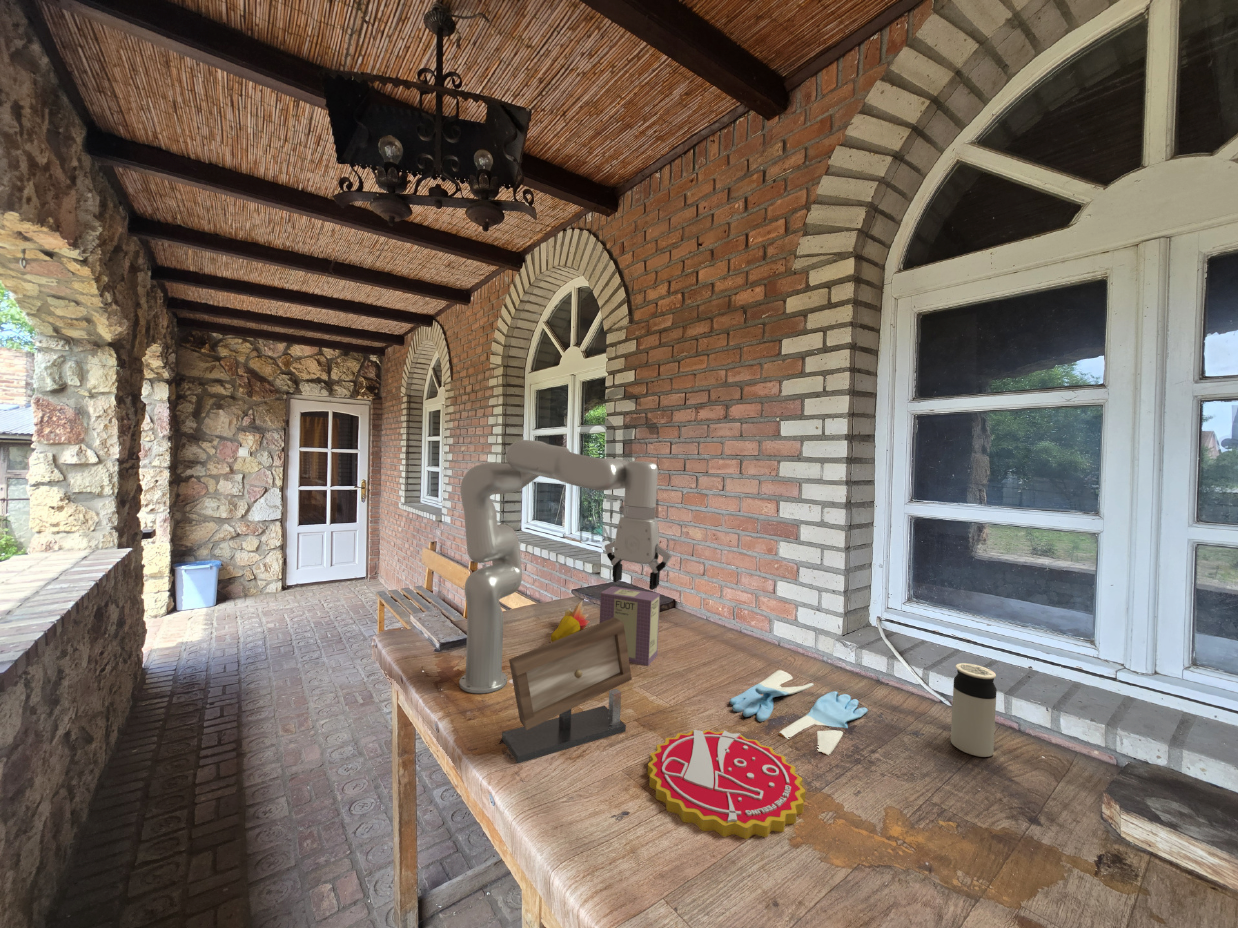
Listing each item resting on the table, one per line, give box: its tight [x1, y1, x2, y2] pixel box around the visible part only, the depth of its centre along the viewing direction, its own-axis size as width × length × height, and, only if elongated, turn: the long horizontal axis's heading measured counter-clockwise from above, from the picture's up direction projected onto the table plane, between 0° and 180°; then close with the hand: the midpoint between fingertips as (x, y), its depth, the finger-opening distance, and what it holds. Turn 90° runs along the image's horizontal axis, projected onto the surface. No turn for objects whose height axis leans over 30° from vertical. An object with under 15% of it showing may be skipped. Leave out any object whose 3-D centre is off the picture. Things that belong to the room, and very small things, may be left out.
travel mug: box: [950, 662, 998, 758], centre depth 115 cm, size 8×8×18 cm
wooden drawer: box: [508, 617, 633, 730], centre depth 110 cm, size 5×26×14 cm, turn 121°
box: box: [599, 585, 661, 667], centre depth 160 cm, size 17×9×20 cm, turn 68°
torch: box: [550, 600, 591, 643], centre depth 175 cm, size 8×8×25 cm
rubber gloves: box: [729, 669, 869, 757], centre depth 130 cm, size 27×33×6 cm
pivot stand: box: [501, 688, 627, 764], centre depth 113 cm, size 10×26×16 cm, turn 121°
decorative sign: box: [647, 729, 806, 840], centre depth 100 cm, size 30×3×30 cm
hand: (635, 584), depth 120 cm, fingers open, 9 cm apart
